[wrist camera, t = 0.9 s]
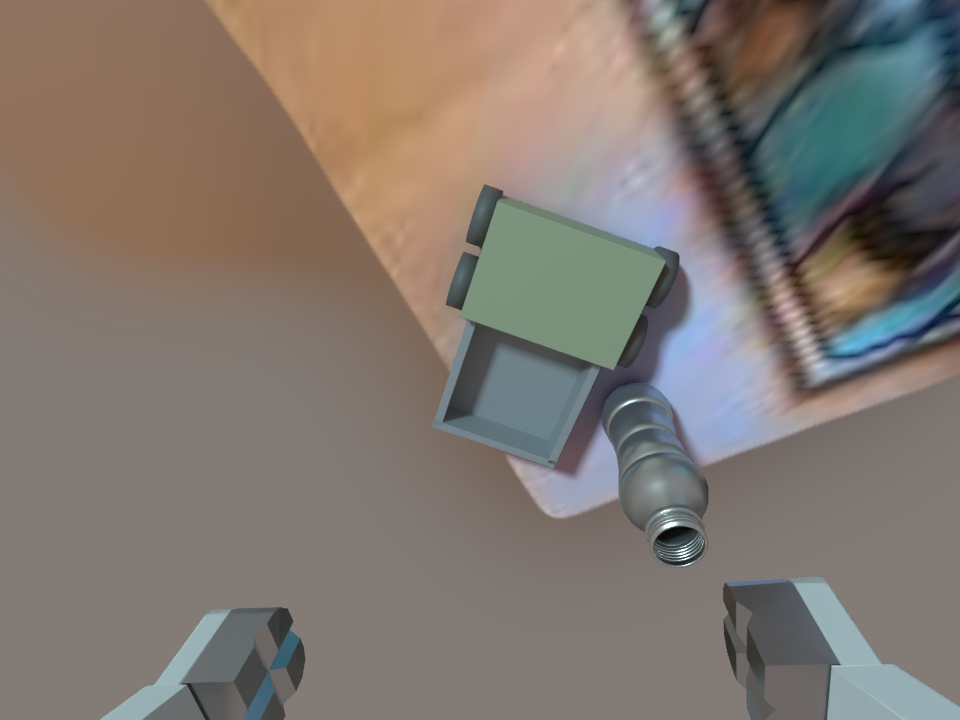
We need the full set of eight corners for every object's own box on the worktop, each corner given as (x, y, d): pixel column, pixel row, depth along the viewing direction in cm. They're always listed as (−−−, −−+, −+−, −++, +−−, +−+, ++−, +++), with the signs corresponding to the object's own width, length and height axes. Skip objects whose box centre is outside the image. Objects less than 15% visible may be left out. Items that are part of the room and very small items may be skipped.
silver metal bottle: (586, 414, 53) (607, 557, 35) (625, 362, 51) (670, 488, 32) (638, 444, 54) (686, 599, 36) (680, 394, 51) (754, 536, 33)
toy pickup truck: (487, 182, 46) (479, 188, 40) (671, 247, 46) (688, 262, 40) (420, 398, 55) (406, 426, 49) (573, 451, 55) (576, 485, 50)
